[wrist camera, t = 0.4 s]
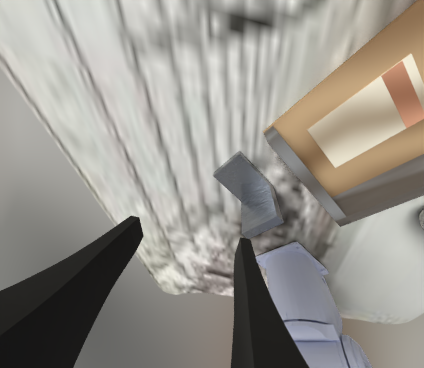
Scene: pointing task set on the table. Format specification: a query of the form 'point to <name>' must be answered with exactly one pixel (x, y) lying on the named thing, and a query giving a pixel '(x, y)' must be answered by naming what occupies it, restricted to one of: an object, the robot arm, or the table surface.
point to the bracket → (250, 195)
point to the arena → (362, 126)
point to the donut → (421, 218)
